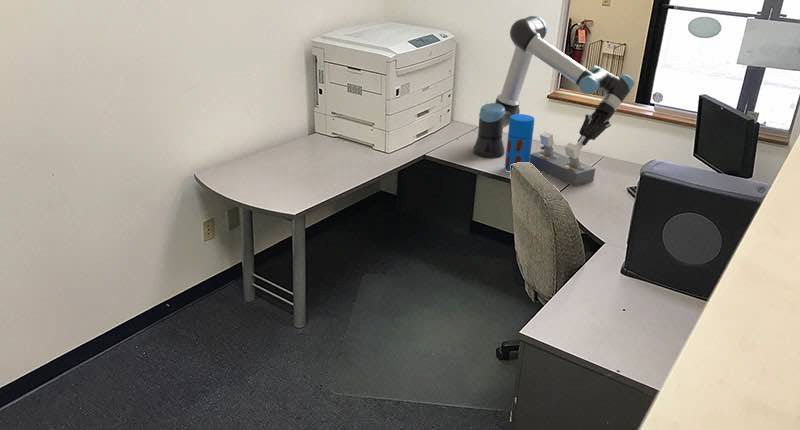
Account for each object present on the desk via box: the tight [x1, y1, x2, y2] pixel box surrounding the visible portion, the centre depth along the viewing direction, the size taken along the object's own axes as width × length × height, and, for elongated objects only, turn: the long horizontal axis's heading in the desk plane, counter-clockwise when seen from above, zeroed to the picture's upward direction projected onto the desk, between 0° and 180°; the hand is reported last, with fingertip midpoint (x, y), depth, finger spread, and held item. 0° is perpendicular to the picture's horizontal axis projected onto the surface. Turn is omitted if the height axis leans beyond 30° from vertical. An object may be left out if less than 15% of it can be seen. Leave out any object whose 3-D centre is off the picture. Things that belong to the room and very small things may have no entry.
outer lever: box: [564, 142, 581, 168], centre depth 272 cm, size 5×3×11 cm, turn 34°
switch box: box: [529, 149, 596, 187], centre depth 283 cm, size 28×12×7 cm, turn 34°
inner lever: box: [539, 130, 555, 157], centre depth 284 cm, size 5×3×11 cm, turn 34°
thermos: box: [504, 113, 535, 171], centre depth 281 cm, size 11×11×25 cm
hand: (576, 149), depth 271 cm, fingers closed
